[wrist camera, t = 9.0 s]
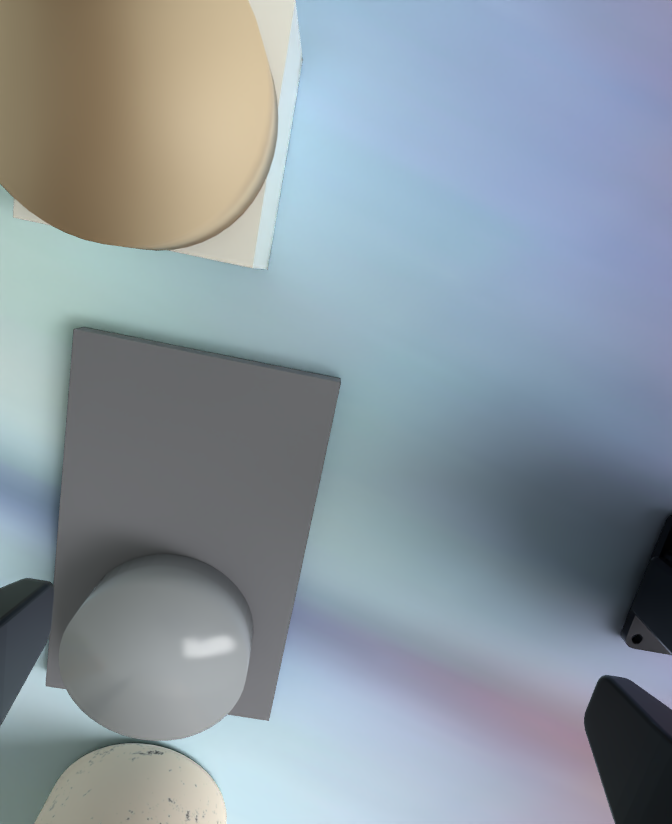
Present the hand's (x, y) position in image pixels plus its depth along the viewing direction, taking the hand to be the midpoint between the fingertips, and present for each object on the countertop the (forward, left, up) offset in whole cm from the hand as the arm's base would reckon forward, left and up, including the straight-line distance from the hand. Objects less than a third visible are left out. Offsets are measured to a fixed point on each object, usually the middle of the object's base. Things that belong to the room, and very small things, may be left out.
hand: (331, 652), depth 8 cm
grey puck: (+5, +10, -12) cm, 17 cm away
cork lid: (+7, -9, -9) cm, 14 cm away
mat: (+5, +6, -13) cm, 15 cm away
